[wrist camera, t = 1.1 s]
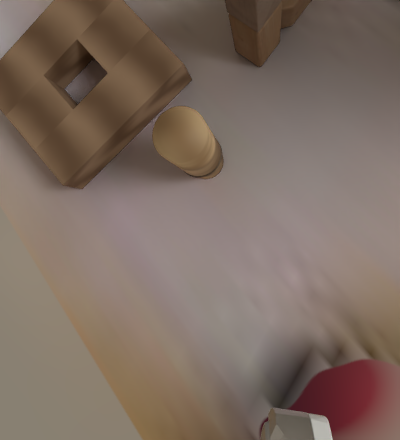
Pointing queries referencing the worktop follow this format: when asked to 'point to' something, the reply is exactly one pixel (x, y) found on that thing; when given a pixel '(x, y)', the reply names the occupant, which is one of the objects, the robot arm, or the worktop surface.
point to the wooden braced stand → (261, 25)
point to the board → (98, 97)
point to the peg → (188, 142)
